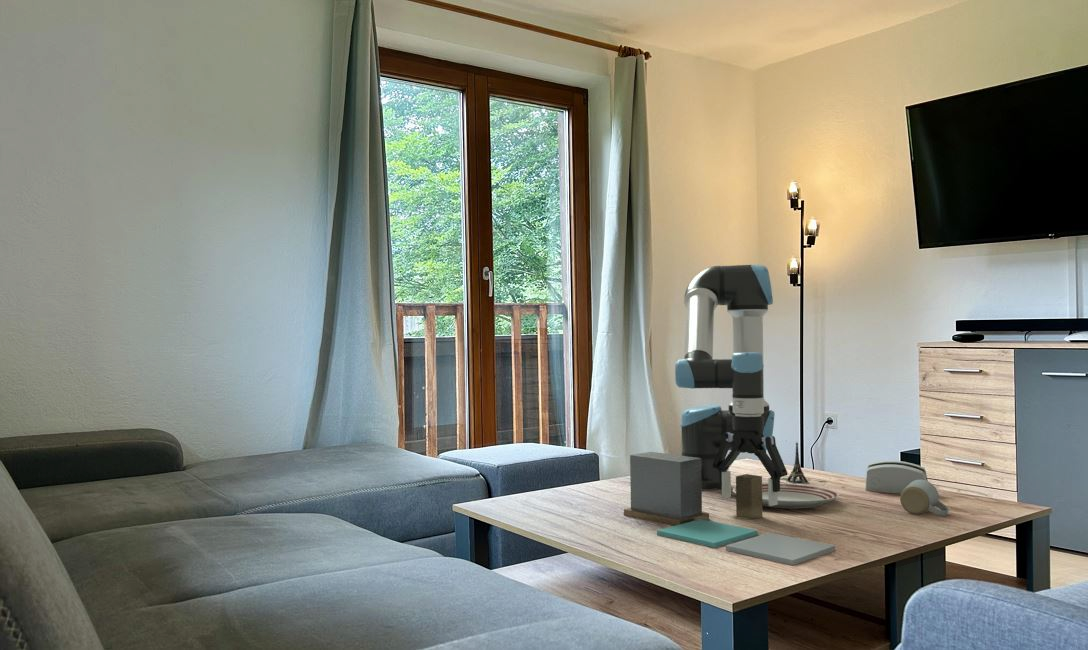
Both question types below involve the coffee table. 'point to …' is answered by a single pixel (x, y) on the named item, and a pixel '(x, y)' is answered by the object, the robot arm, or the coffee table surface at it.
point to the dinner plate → (798, 496)
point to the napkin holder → (892, 476)
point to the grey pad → (780, 548)
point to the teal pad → (707, 533)
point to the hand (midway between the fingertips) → (749, 501)
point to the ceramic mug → (922, 498)
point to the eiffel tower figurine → (797, 472)
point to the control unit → (666, 488)
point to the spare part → (749, 496)
